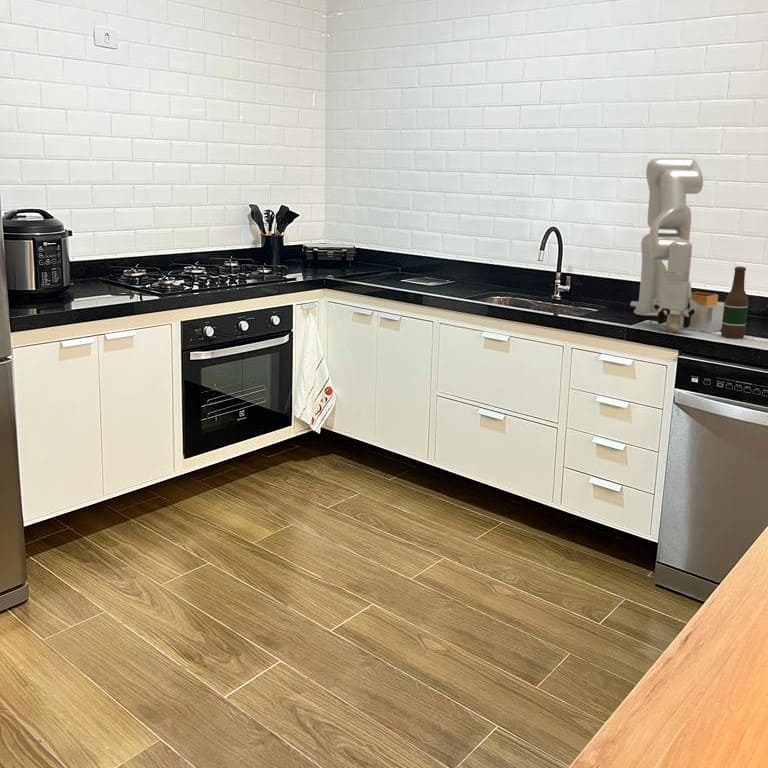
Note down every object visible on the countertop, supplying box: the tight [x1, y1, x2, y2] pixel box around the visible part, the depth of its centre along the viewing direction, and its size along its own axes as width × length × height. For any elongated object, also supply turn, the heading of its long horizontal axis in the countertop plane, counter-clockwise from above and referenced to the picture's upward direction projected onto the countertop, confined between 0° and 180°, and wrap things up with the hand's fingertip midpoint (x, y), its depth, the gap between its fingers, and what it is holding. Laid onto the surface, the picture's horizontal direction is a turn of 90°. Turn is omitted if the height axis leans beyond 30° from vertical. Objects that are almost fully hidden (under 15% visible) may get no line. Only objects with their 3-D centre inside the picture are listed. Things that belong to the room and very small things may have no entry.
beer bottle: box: [720, 266, 749, 339], centre depth 286 cm, size 8×8×24 cm
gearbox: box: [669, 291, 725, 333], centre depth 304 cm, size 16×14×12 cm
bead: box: [665, 313, 681, 333], centre depth 296 cm, size 4×4×6 cm
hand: (673, 325), depth 296 cm, fingers open, 9 cm apart
